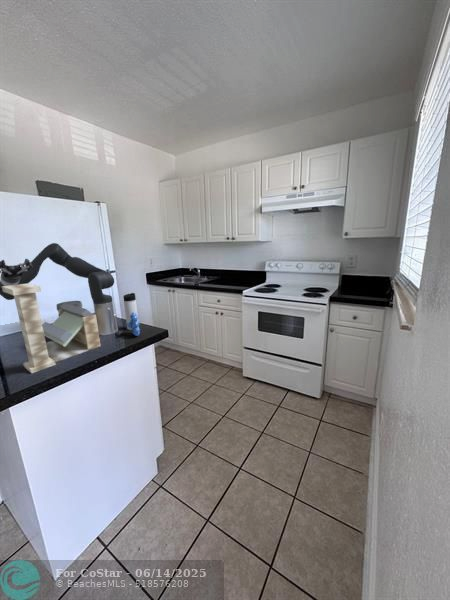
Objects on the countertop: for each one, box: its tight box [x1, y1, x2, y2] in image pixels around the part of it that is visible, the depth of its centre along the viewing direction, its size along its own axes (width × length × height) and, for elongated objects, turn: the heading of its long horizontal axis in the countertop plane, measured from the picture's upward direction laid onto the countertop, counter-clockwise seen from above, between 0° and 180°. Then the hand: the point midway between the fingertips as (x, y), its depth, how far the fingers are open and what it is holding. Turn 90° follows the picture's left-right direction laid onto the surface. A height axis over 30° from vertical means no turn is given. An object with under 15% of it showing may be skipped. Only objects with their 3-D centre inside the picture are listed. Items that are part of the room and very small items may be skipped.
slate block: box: [42, 321, 72, 342], centre depth 109 cm, size 4×24×3 cm
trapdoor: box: [44, 303, 94, 347], centre depth 112 cm, size 17×24×4 cm
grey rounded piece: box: [56, 300, 83, 317], centre depth 138 cm, size 13×13×15 cm
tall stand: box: [2, 283, 57, 374], centre depth 94 cm, size 8×14×32 cm, turn 54°
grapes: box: [126, 312, 141, 337], centre depth 125 cm, size 12×7×12 cm, turn 30°
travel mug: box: [122, 292, 139, 331], centre depth 135 cm, size 6×7×20 cm
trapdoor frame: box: [46, 309, 102, 363], centre depth 112 cm, size 18×27×16 cm
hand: (15, 261), depth 110 cm, fingers open, 8 cm apart
